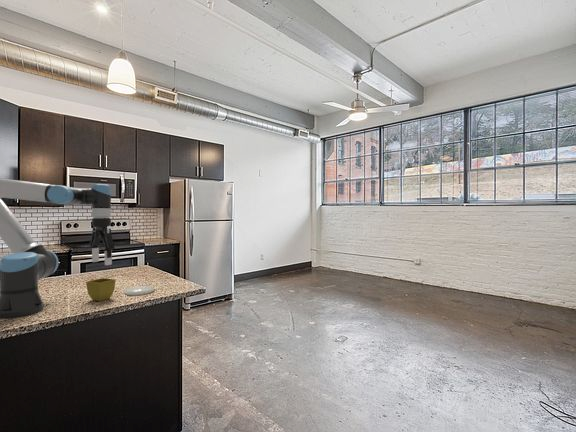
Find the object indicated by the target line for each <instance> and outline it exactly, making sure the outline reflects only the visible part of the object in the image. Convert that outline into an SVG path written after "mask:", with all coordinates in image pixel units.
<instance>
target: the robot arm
mask: <svg viewBox="0 0 576 432" xmlns="http://www.w3.org/2000/svg"><path fill="white" fill-rule="evenodd" d="M111 189H112V188H111V186H110V185H109V184H104V183H102V184H101V183H97V184H95V183H93V184H92V186H91V188H82V187H81V188H79V187H72V186H67V185H61V184H49V183H40V182H34V181H33V182H32V181H24V180H18V179H17V180H16V179H8V178H0V238H1V240H2V241H3V242H4V243H5V245H6V246H7V247H8V248H9V250H10V251H11V252H12V253H10V254H7V255H6V254H5V255H4V256H2V257H1V258H0V319H9V318H17V317H23V316H28V315H32V314H33V315H34V314H36V313H39V312H41V311H42V310H43V309H44V302H43V299H42V296H41V295H40V292H39V280H42V279H44V278H47V277H49V276H50V275H53V274H54V273H55V272H56V271H57V269H58V268H59V265H60V262H59V258H58V256H57V254H55V252H53V251H50V250H47V249H46V248H45V246H44V245H43V244H42V243H36V241H35V240H34V239H33V237H32V236H31V235H30V233H29V232H28V231H27V229H25V228H24V225H22V223H20V221H19V219H18V218H17V217H16V215H14V213H13V212H12V210H11V209H10V208H9V206H8V205H7V204H6V203H5V202H4V200H3V199H2V198H4V199H12V200H13V199H14V200H21V201H22V200H23V201H32V202H42V203H50V204H57V205H68V206H74V205H75V206H77V205H78V206H83V205H84V206H85V205H87V206H88V205H89V206H91V217H92V218H91V225H92V226H93V227H92V229H91V230H92V231H91V237H90V241H89V247H91V262H92V263H98V262H100V243H101V241H102V243H103V246H104V249H103V251H104V266H110V265H113V263H112V262H113V260H112V259H113V257H112V255H113V250H114V249H115V244H114V239H113V236H112V228H111V225H112V219H111V218H110V217H112V205H111V204H112V203H111V202H112V191H111ZM108 227H110V228H108Z"/></svg>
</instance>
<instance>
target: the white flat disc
mask: <svg viewBox="0 0 576 432" xmlns="http://www.w3.org/2000/svg"><path fill="white" fill-rule="evenodd" d="M154 291H155V287H153V286H149V285H137V286H132V287H128V288H125V289H124V290H123V294H124V295H125V296H143V295H148V294H151V293H153V292H154Z"/></svg>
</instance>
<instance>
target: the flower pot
mask: <svg viewBox="0 0 576 432" xmlns="http://www.w3.org/2000/svg"><path fill="white" fill-rule="evenodd" d="M116 282H117V281H116V279H115V278H108V277H101V278H96V279H92V280H88V281H85V284H86V289H87V293H88V295H89V297H90V299H91V300H92V301H97V302H102V301H105V300H109V299H110V298H111V297H112V296H113V294H114V291H115V287H116Z"/></svg>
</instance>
